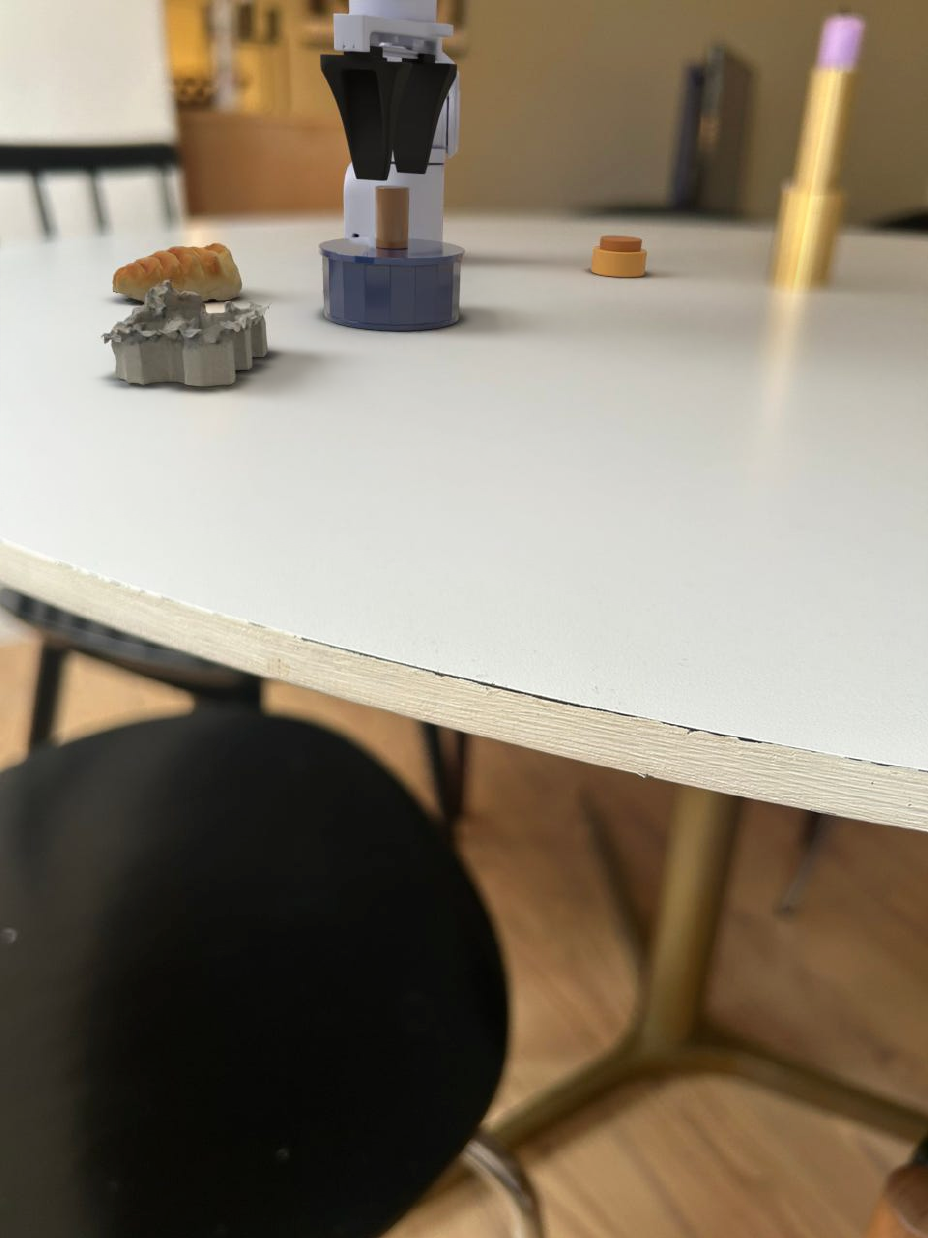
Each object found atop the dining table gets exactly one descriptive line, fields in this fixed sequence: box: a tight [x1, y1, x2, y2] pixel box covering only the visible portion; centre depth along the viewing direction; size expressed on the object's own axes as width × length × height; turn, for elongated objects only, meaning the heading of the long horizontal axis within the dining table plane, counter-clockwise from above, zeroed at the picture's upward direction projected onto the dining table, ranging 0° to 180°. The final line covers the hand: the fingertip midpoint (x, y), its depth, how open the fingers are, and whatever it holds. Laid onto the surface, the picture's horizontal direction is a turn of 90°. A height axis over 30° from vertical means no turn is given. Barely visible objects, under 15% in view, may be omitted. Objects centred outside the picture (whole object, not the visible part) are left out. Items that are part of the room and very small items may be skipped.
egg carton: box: [100, 279, 272, 387], centre depth 56 cm, size 11×8×4 cm
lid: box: [318, 185, 466, 266], centre depth 69 cm, size 11×11×5 cm
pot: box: [321, 255, 462, 332], centre depth 71 cm, size 10×10×4 cm
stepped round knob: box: [590, 234, 648, 278], centre depth 94 cm, size 5×5×3 cm
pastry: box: [111, 242, 243, 303], centre depth 74 cm, size 9×7×4 cm
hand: (392, 176), depth 68 cm, fingers open, 7 cm apart
